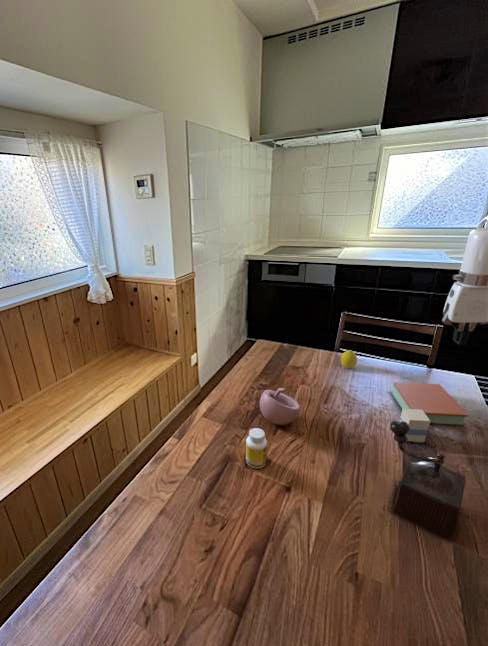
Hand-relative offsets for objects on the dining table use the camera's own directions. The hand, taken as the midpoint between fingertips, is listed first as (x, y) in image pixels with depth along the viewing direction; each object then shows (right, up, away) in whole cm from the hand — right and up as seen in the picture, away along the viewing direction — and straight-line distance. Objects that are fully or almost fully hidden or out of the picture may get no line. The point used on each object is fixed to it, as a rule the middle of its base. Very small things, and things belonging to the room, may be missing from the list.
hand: (459, 342), depth 93 cm
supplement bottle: (-57, -32, -2) cm, 66 cm away
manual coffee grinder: (-24, -36, -17) cm, 47 cm away
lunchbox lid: (-1, -18, +11) cm, 21 cm away
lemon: (-13, -11, +37) cm, 41 cm away
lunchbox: (-1, -21, +13) cm, 25 cm away
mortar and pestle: (-47, -25, +12) cm, 55 cm away
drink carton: (-12, -27, +2) cm, 30 cm away
